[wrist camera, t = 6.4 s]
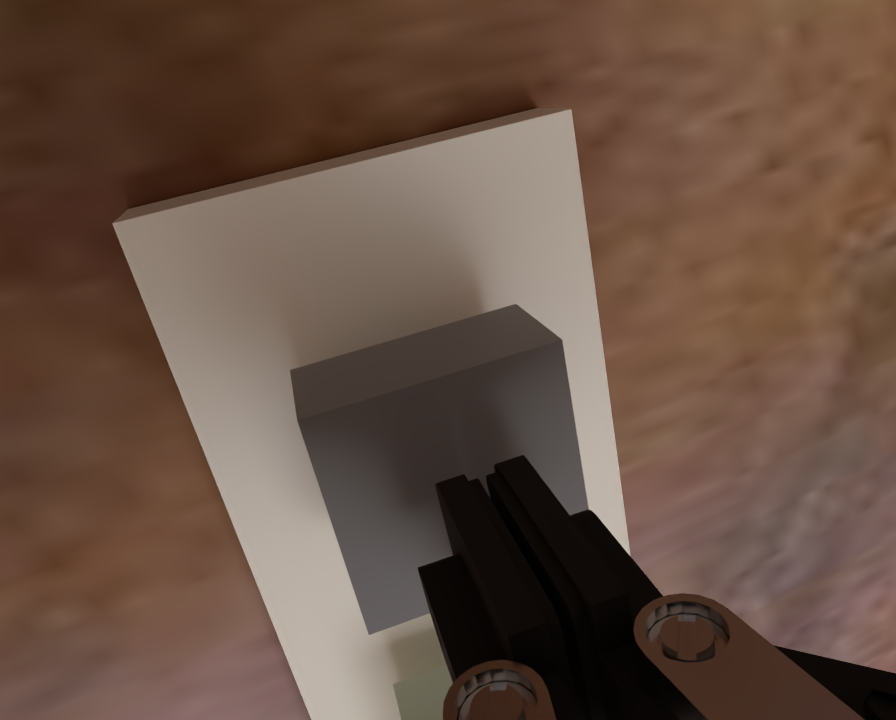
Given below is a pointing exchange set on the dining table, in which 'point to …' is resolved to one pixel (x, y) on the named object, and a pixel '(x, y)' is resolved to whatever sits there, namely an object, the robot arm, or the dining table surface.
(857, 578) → the dining table surface
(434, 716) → the sage key
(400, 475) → the charcoal key
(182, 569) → the dining table surface
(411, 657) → the keypad base
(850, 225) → the dining table surface
